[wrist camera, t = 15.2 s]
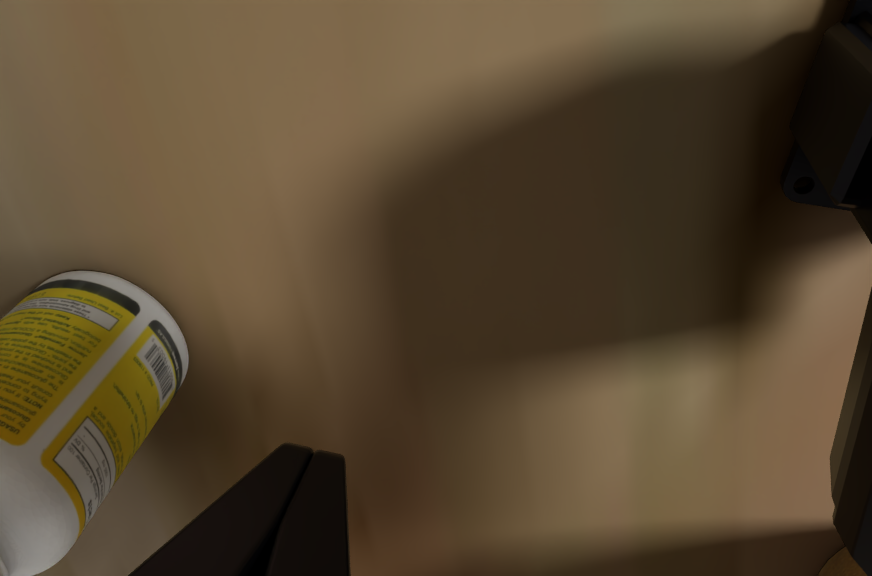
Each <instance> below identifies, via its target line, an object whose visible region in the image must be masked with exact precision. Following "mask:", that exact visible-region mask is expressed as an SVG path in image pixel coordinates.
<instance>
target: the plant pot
mask: <svg viewBox="0 0 872 576" xmlns="http://www.w3.org/2000/svg"><path fill="white" fill-rule="evenodd" d="M818 576H867V574H866V573H865V572H864V571H863V570H862V568H861V567H860V566H859V565H858V564H857V563H856V561H855V560H854V559H853V558H852V557H851V555H850V553H849V551H848V550H847V548H846V547H844V548H843V549H841V550H840V551H838V552H837V553H836V554H835V555H834V556H833V557H832V558H830V559H829V560H828V562H827V563H826V564H825V565H824V566H823V568H822V569H821V571H820V572H819V574H818Z"/></svg>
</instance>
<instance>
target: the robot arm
mask: <svg viewBox="0 0 872 576" xmlns="http://www.w3.org/2000/svg"><path fill="white" fill-rule="evenodd" d="M790 130H791V132H792V133H793V135H794V137H795V138H796V139H795V142H794V145H793V147H792V150H791V152H790V155H789V157H788V160H787V162H786V165H785V167H784V170H783V173H782V175H781V180H780V184H781V187H782V190H783V192H784V194H785V196H786V197H787V198H788V199H790V200H791V201H794V202H798V203H804V204H810V205H817V206H823V207H830V208H836V209H843V210H849V211H852V213H853V215H854V216H855V218H856V220H857V221H858V223H859V224H860V226H861V228H862V229H863V231H864V232H865V234H866V236H867V237H868V239H869V241H870V242H871V244H872V0H850V2H849V5H848V7H847V10H846V12H845V15H844V17H843V20H842V22H837V23H836V24H835V25H833V26H832V27H830V28H829V29H828V30H826V32H825V34H824V37H823V39H822V42H821V45H820V47H819V50H818V52H817V55H816V58H815V60H814V63H813V65H812V68H811V71H810V73H809V76H808V78H807V81H806V84H805V86H804V89H803V91H802V94H801V97H800V99H799V102H798V105H797V107H796V110H795V112H794V115H793V118H792V120H791V123H790ZM801 177H810V178H811V180H810V182H809V183H808V184H807V185H806V186H804V187H799V188H796V187H794V183H795V182H796V180H797V179H799V178H801ZM830 471H831V492H832V499H833V502H834V504H835V509H834V512H833V524H834V525H835V527H836V529H837V531H838V533H839V535H840V537H841V538H842V540H843V542H844V544H845V546H846V548H847V550H848V551H849V553H850V555H851V557H852V558H853V559H854V560H855V561H856V563H857V564H858V565H859V566H860V567H861V568H862V570H863V571H864V572H865V573H866V574H867V576H872V288H871V292H870V296H869V300H868V304H867V309H866V313H865V317H864V321H863V325H862V329H861V333H860V337H859V341H858V345H857V349H856V353H855V357H854V361H853V365H852V369H851V373H850V377H849V382H848V386H847V390H846V394H845V398H844V402H843V406H842V410H841V414H840V418H839V422H838V426H837V430H836V434H835V438H834V442H833V446H832V451H831V455H830ZM128 576H351V573H350V551H349V529H348V507H347V485H346V464H345V458H344V456H342V455H340V454H336V453H332V452H327V451H323V450H317V451H315V452H314V451H313V449H312V448H310V447H306V446H302V445H298V444H293V443H283V444H281V445H280V446H279V447H278V448H276V449H275V450H274V451H273V452H272V453H271V454H269V455H268V456H267V457H266V458H265V459H264V460H262V461H261V462H260V463H259V464H258V465H257V466H255V467H254V468H253V469H252V470H251V471H250V472H248V473H247V474H246V475H245V476H244V477H243V478H241V479H240V480H239V481H238V482H237V483H236V484H234V485H233V486H232V487H231V488H230V489H228V490H227V491H226V492H225V493H224V494H223V495H221V496H220V497H219V498H218V499H217V500H216V501H214V502H213V503H212V504H211V505H210V506H209V507H207V508H206V509H205V510H204V511H203V512H202V513H200V514H199V515H198V516H197V517H196V518H195V519H193V520H192V521H191V522H190V523H189V524H188V525H186V526H185V527H184V528H183V529H182V530H181V531H179V532H178V533H177V534H176V535H175V536H174V537H172V538H171V539H170V540H169V541H168V542H166V543H165V544H164V545H163V546H162V547H161V548H159V549H158V550H157V551H156V552H155V553H154V554H152V555H151V556H150V557H149V558H148V559H147V560H145V561H144V562H143V563H142V564H141V565H140V566H138V567H137V568H136V569H135V570H134V571H133V572H131V573H130V574H129V575H128Z"/></svg>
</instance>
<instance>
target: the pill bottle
mask: <svg viewBox="0 0 872 576" xmlns="http://www.w3.org/2000/svg"><path fill="white" fill-rule="evenodd" d="M188 363H189V356H188V349H187V345H186V342H185V339H184V336H183V334H182V332H181V330H180V328H179V326H178V325H177V323H176V322H175V320H174V319H173V317H172V316H171V315H170V313H169V312H168V311H167V310H166V309H165V308H164V307H163V306H162V305H161V304H160V303H159V302H158V301H157V300H156V299H155V298H153V297H152V296H151V295H150V294H148V293H147V292H145V291H144V290H143V289H141V288H140V287H138V286H136V285H134V284H133V283H131V282H129V281H127V280H125V279H123V278H120V277H117V276H114V275H111V274H107V273H102V272H95V271H71V272H65V273H62V274H59V275H56V276H54V277H51V278H49V279H48V280H46V281H45V282H43V283H42V284H40V285H39V286H38V287H37V288H36V289H34V290H33V291H32V292H30V293H29V294H28V295H27V296H26V297H25V298H24V299H23V300H22V301H21V302H19V303H18V304H17V305H16V306H15V307H14V308H13V309H12V310H11V311H10V312H9V313H7V314H6V315H5V316H4V317H3V318H2V319H1V320H0V576H33V575H35V574H38V573H41V572H43V571H45V570H47V569H49V568H50V567H52V566H53V565H55V564H56V563H57V562H59V561H60V560H61V559H62V558H63V557H64V556H65V555H66V554H67V553H68V551H69V550H70V548H71V547H72V546H73V545H74V544H75V542H76V540H77V539H78V537H79V536H80V534H81V533H82V532H83V531H84V529H85V527H86V526H87V524H88V522H89V521H90V519H91V518H92V517H93V515H94V513H95V512H96V510H97V509H98V507H99V506H100V505H101V503H102V502H103V500H104V499H105V497H106V496H107V494H108V493H109V492H110V490H111V488H112V487H113V485H114V484H115V482H116V481H117V479H118V478H119V476H120V475H121V474H122V472H123V471H124V469H125V468H126V466H127V465H128V463H129V462H130V460H131V459H132V457H133V456H134V454H135V453H136V451H137V450H138V449H139V447H140V446H141V444H142V443H143V441H144V440H145V438H146V437H147V435H148V434H149V432H150V431H151V429H152V428H153V426H154V425H155V423H156V422H157V420H158V419H159V418H160V416H161V415H162V413H163V412H164V410H165V409H166V408H167V406H168V405H169V403H170V401H171V400H172V399H173V397H174V396H175V394H176V392H177V391H178V389H179V388H180V386H181V384H182V383H183V381H184V378H185V376H186V373H187V369H188Z"/></svg>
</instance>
